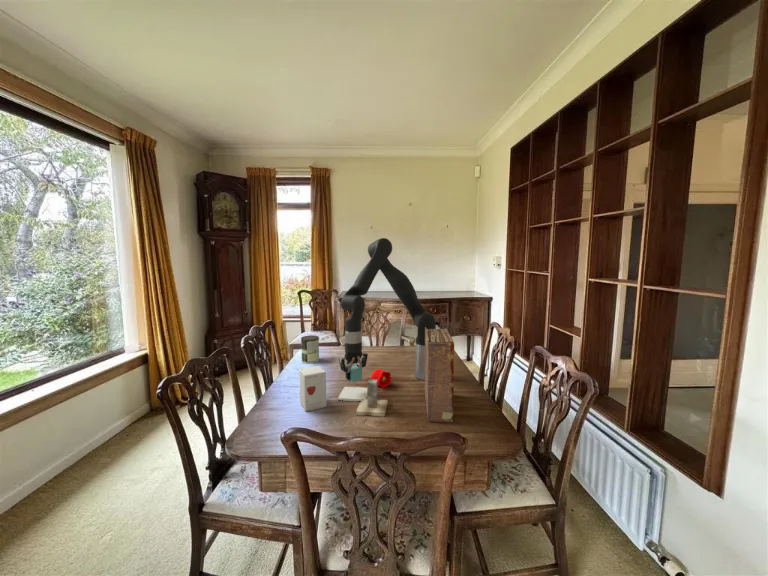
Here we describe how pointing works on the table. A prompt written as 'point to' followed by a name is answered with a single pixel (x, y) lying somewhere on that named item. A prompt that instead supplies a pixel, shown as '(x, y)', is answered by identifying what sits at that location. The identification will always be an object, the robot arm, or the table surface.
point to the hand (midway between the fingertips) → (353, 378)
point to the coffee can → (310, 349)
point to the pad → (353, 394)
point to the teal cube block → (355, 374)
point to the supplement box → (312, 388)
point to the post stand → (372, 402)
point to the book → (439, 375)
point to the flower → (381, 377)
